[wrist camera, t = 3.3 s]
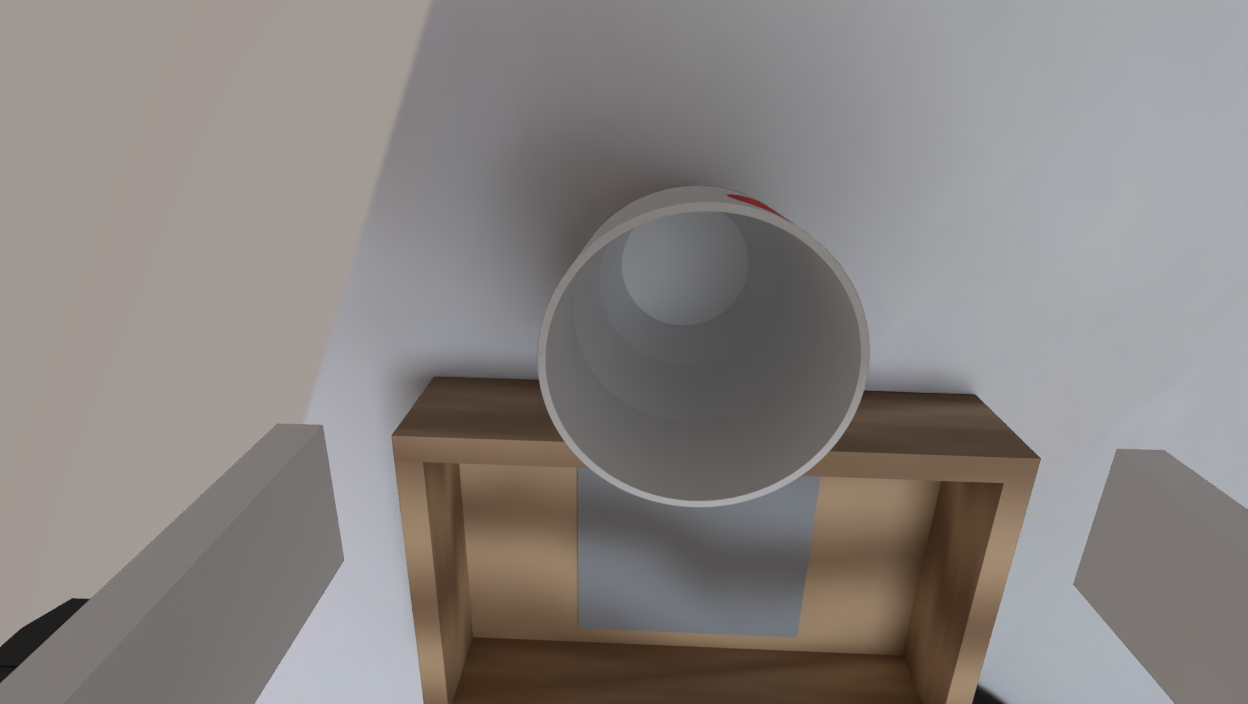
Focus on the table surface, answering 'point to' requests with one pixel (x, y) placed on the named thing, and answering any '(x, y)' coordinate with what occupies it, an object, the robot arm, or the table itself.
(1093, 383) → the table surface
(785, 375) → the cup
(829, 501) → the wooden box
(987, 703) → the desk fan
